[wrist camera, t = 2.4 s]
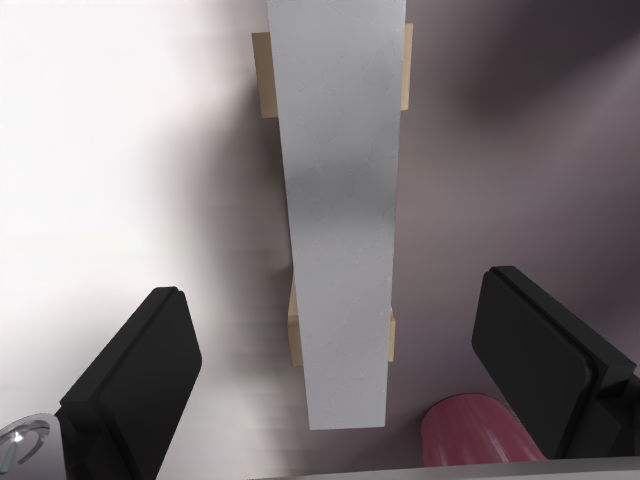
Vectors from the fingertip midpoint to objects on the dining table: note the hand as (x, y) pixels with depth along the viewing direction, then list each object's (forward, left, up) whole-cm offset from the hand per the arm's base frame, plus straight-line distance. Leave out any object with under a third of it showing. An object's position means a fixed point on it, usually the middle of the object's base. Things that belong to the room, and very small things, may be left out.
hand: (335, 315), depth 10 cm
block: (0, 0, -7) cm, 7 cm away
